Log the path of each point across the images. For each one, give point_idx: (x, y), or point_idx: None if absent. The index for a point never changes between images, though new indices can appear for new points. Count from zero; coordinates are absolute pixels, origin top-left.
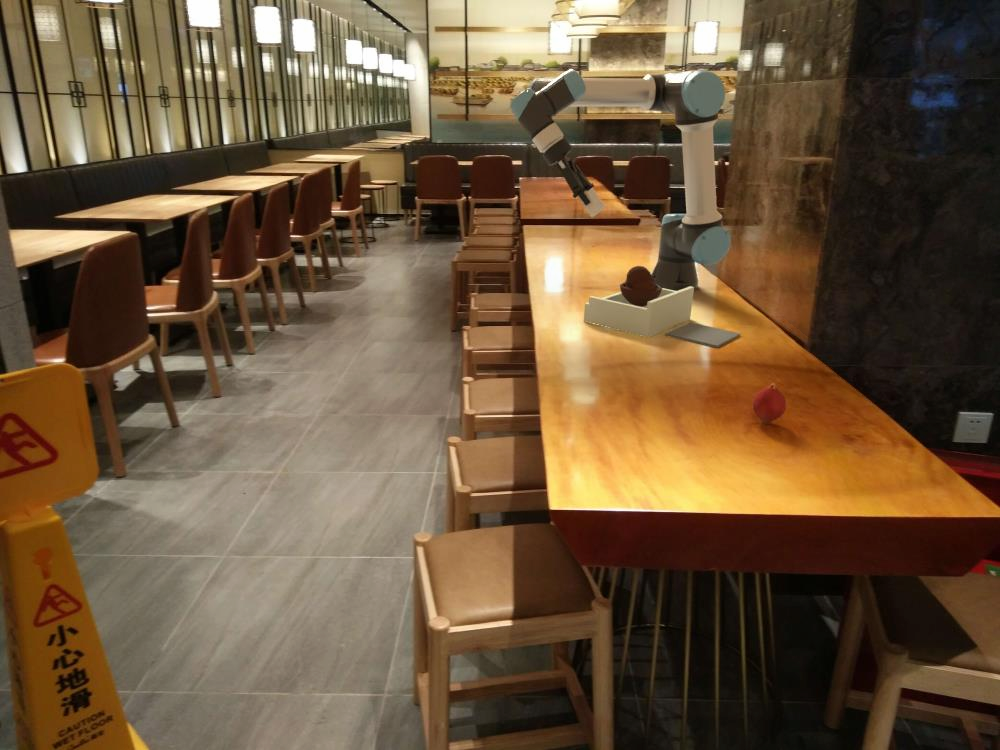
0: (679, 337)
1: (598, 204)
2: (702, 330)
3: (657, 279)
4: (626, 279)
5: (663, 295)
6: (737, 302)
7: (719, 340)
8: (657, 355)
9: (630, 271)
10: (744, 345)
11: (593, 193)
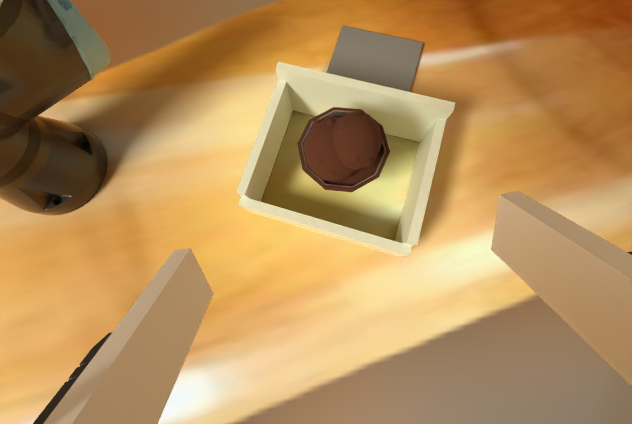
0: None
1: (184, 300)
2: (356, 71)
3: (77, 190)
4: (343, 176)
5: (272, 131)
6: (146, 57)
7: (395, 43)
8: (507, 106)
9: (371, 152)
10: (387, 18)
11: (124, 376)
